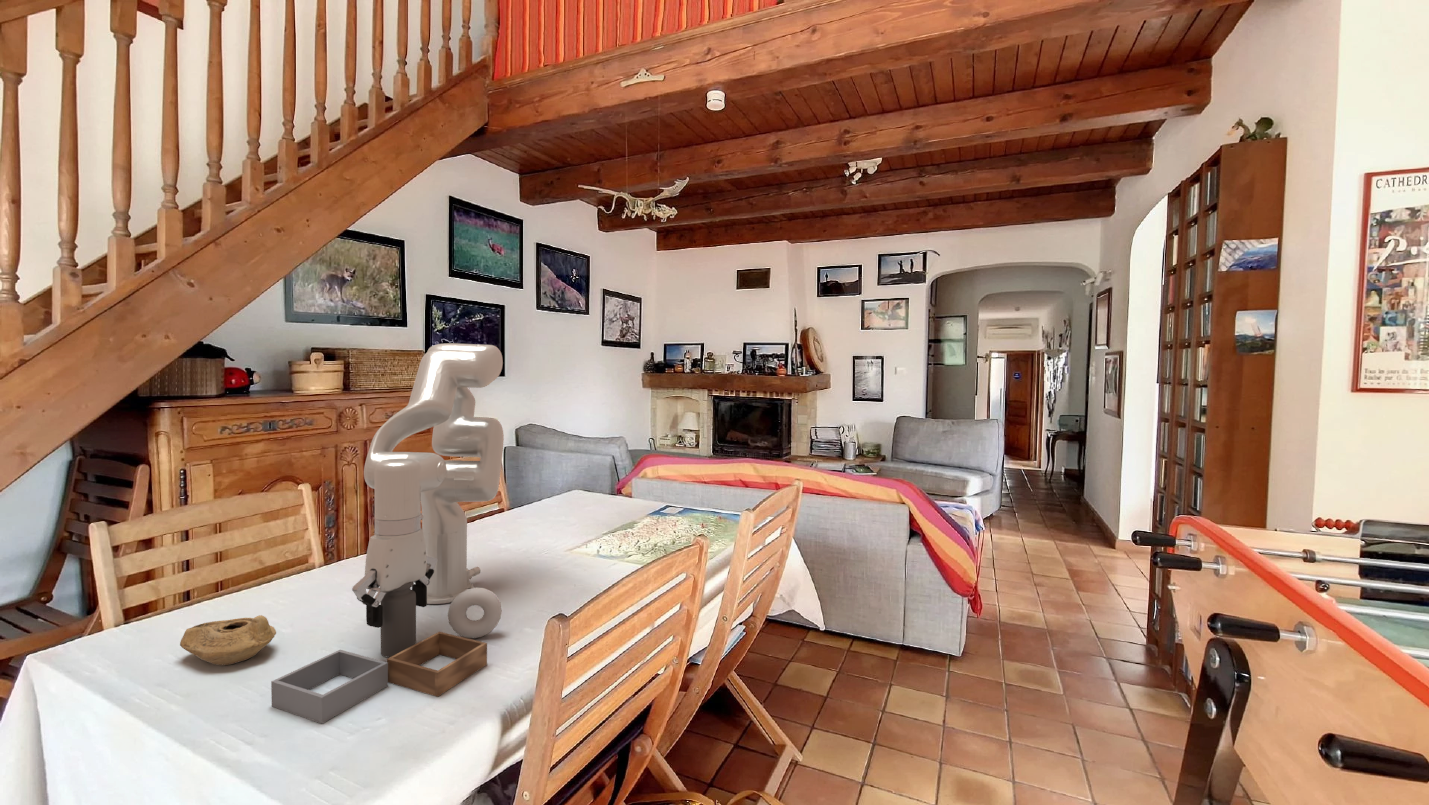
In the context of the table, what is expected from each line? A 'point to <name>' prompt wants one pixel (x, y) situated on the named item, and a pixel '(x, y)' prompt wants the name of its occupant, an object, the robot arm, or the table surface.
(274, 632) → the oil lamp
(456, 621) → the donut
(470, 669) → the walnut bin
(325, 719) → the grey bin
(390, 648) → the bottle
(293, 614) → the table surface
